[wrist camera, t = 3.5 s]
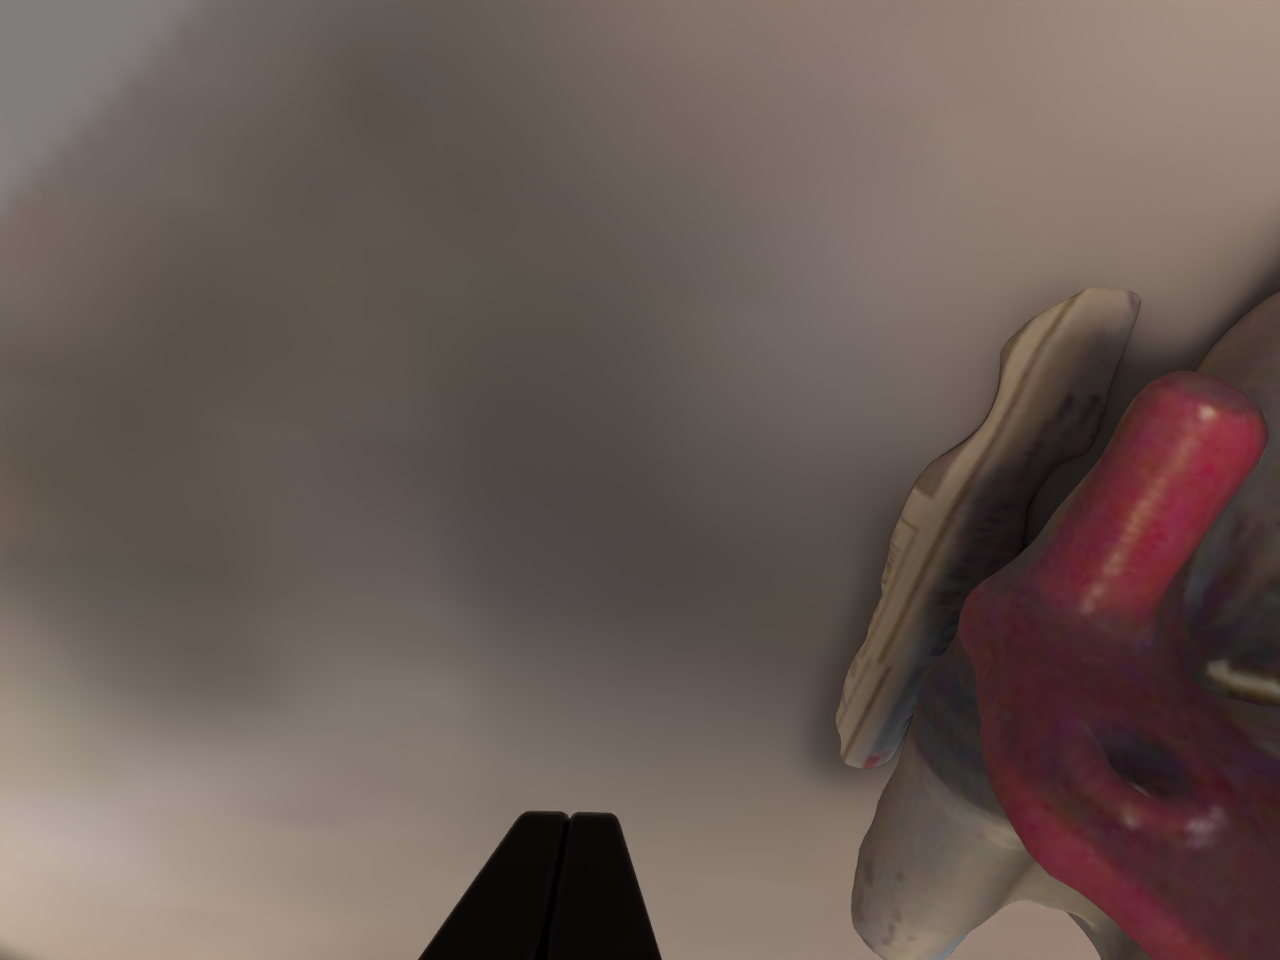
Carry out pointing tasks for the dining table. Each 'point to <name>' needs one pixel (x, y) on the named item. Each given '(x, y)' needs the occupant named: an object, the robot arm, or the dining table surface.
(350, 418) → the dining table surface
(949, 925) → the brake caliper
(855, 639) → the dining table surface
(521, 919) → the robot arm
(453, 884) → the dining table surface
